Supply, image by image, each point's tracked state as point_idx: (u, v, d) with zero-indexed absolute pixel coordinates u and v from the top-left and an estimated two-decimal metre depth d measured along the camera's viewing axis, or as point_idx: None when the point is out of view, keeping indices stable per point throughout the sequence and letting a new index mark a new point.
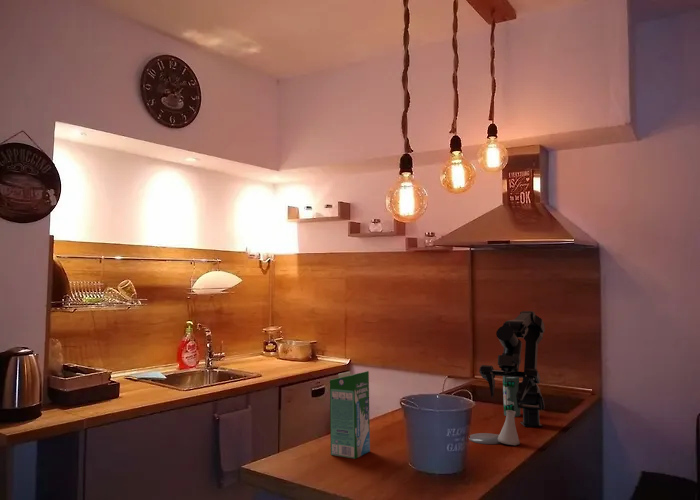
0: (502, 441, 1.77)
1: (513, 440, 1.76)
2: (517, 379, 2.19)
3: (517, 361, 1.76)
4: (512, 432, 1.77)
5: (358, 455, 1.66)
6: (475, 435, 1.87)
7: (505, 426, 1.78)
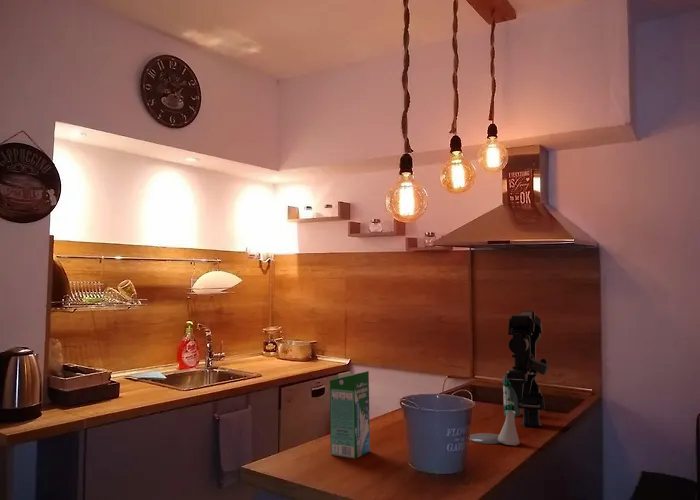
0: (502, 441, 1.77)
1: (513, 440, 1.76)
2: None
3: None
4: (512, 432, 1.77)
5: (358, 455, 1.66)
6: (475, 435, 1.87)
7: (505, 426, 1.78)
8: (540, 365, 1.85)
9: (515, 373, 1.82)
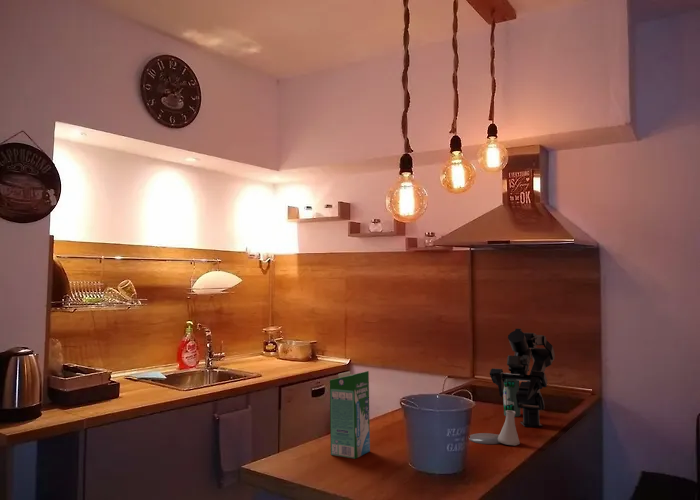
0: (502, 441, 1.77)
1: (513, 440, 1.76)
2: None
3: (525, 361, 1.87)
4: (512, 432, 1.77)
5: (358, 455, 1.66)
6: (475, 435, 1.87)
7: (505, 426, 1.78)
8: None
9: None
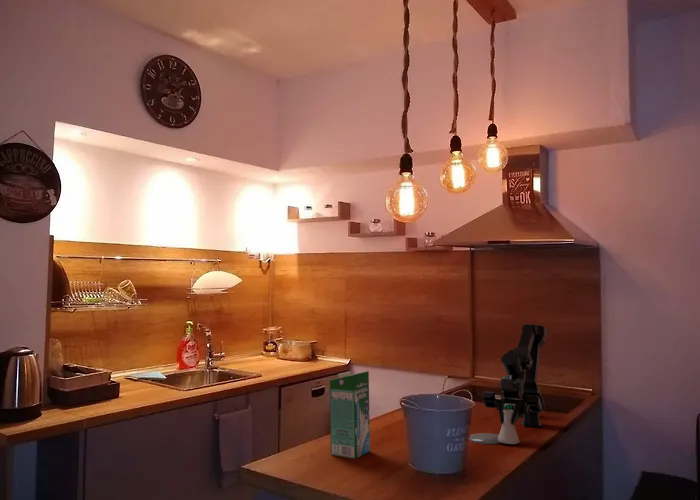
0: (502, 441, 1.77)
1: (513, 439, 1.76)
2: None
3: (519, 385, 1.79)
4: (511, 431, 1.77)
5: (358, 455, 1.66)
6: (475, 435, 1.87)
7: (504, 426, 1.78)
8: None
9: None
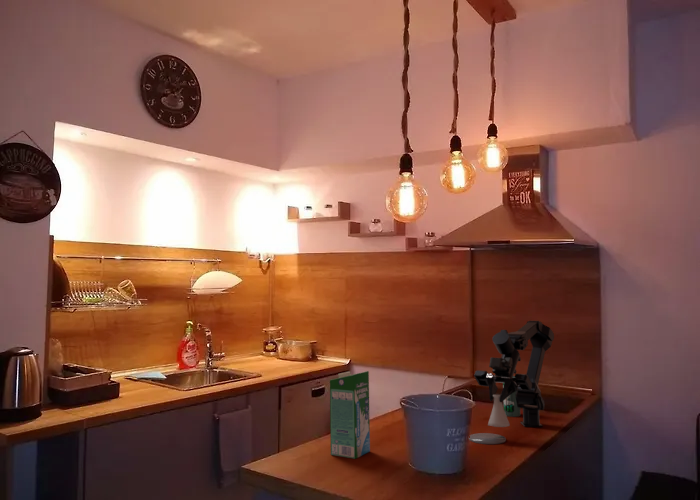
0: (491, 424, 1.80)
1: (502, 422, 1.79)
2: None
3: (507, 363, 1.82)
4: (500, 414, 1.80)
5: (358, 455, 1.66)
6: (475, 435, 1.87)
7: (493, 409, 1.82)
8: None
9: None
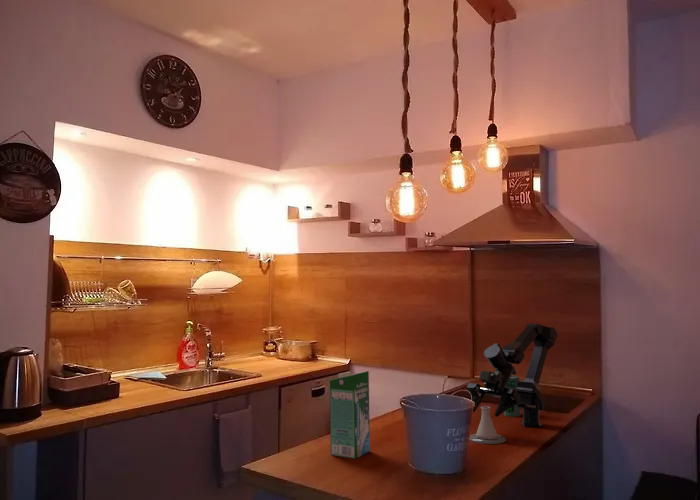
0: (478, 436, 1.83)
1: (488, 434, 1.81)
2: (517, 379, 2.19)
3: (496, 377, 1.83)
4: (487, 427, 1.82)
5: (358, 455, 1.66)
6: (475, 435, 1.87)
7: (481, 421, 1.84)
8: None
9: None
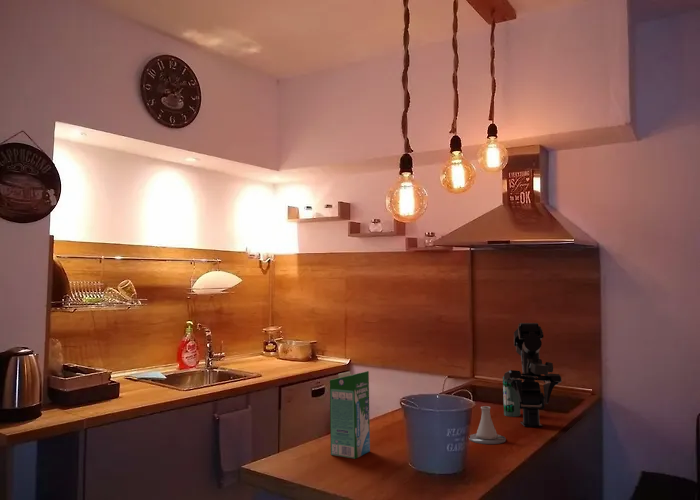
0: (478, 436, 1.83)
1: (488, 434, 1.81)
2: None
3: (552, 370, 1.86)
4: (487, 427, 1.82)
5: (358, 455, 1.66)
6: (475, 435, 1.87)
7: (481, 421, 1.84)
8: (533, 365, 1.87)
9: (506, 373, 1.91)
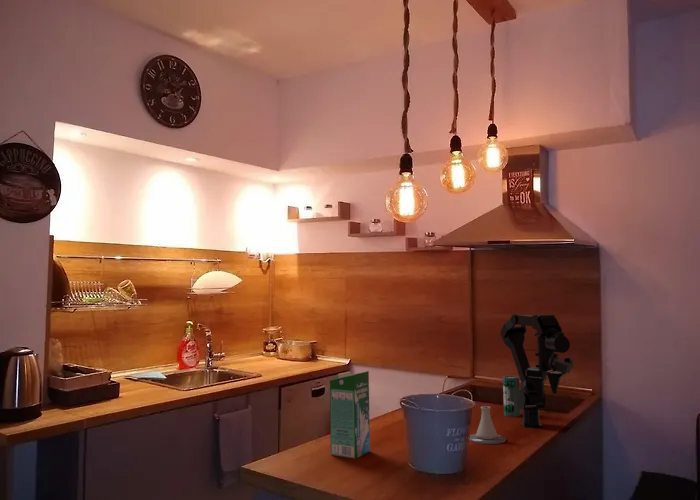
0: (478, 436, 1.83)
1: (488, 434, 1.81)
2: (517, 379, 2.19)
3: None
4: (487, 427, 1.82)
5: (358, 455, 1.66)
6: (475, 435, 1.87)
7: (481, 421, 1.84)
8: (561, 364, 1.86)
9: (533, 371, 1.86)
